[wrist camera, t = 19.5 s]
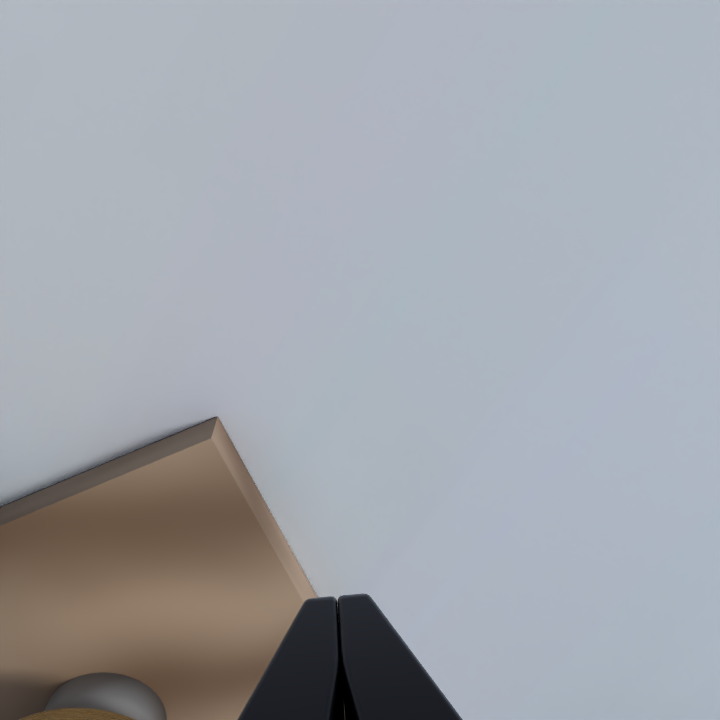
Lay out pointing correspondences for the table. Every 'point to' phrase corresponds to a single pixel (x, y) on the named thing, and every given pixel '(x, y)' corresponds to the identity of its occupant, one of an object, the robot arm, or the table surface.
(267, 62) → the table surface
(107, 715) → the beige elongated piece
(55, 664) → the base
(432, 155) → the table surface
